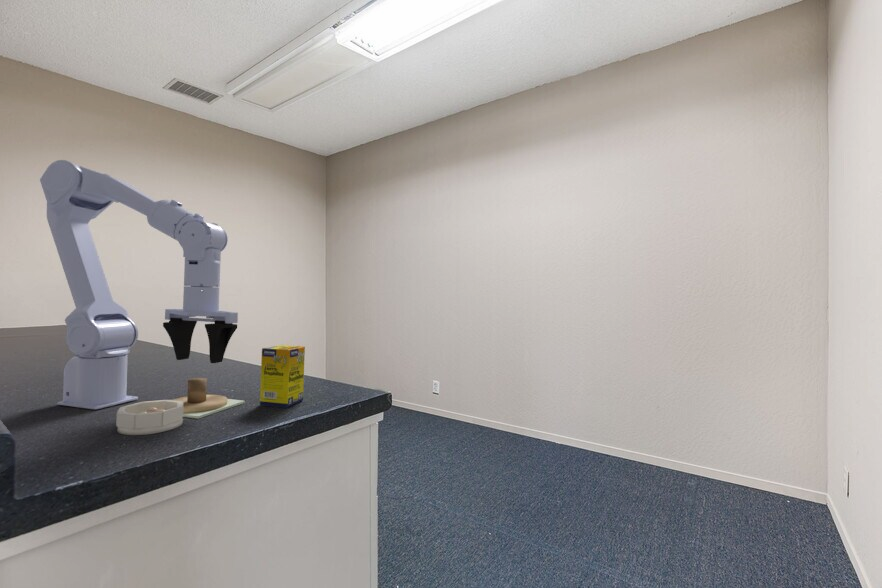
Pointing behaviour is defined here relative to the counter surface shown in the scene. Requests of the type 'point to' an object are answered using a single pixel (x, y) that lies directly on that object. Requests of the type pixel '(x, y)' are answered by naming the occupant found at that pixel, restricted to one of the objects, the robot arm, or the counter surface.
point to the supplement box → (282, 375)
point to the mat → (202, 414)
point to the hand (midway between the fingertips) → (199, 360)
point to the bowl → (149, 417)
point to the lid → (200, 397)
